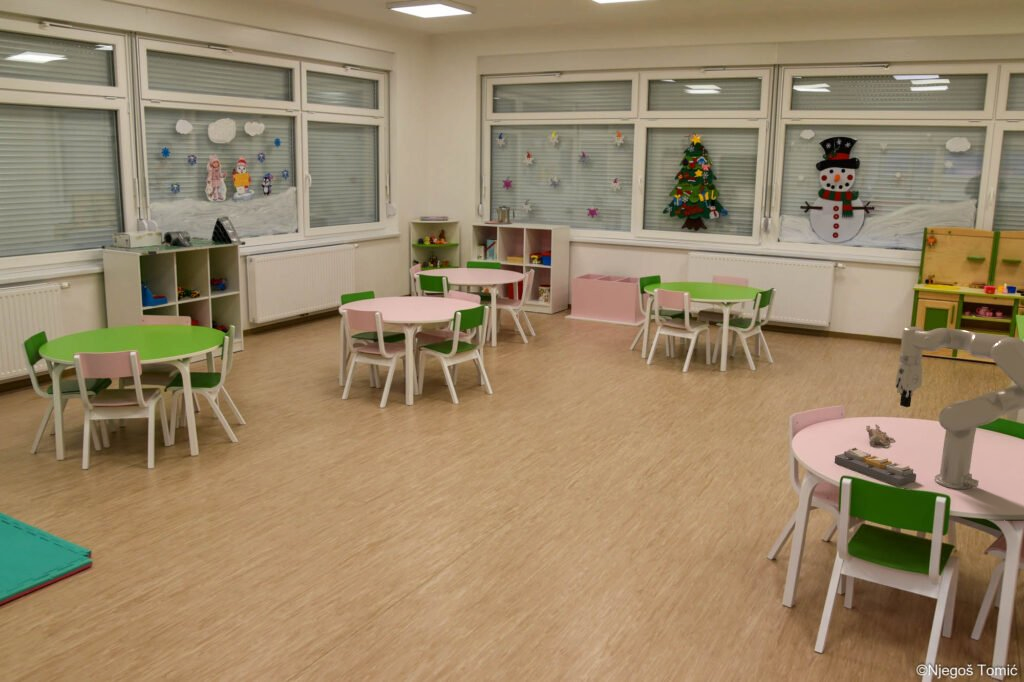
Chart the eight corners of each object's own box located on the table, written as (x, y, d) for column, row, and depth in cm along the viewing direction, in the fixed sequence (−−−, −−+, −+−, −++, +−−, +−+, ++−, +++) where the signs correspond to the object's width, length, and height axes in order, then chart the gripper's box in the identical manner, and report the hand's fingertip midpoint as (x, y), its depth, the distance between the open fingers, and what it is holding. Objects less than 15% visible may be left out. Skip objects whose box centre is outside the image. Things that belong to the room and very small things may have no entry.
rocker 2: (909, 468, 312) (909, 465, 312) (903, 470, 310) (902, 467, 310) (896, 467, 317) (895, 464, 317) (889, 469, 315) (889, 466, 315)
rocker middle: (887, 460, 320) (887, 458, 320) (881, 462, 318) (881, 459, 318) (875, 460, 325) (874, 457, 325) (868, 461, 322) (868, 459, 322)
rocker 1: (866, 456, 328) (867, 454, 327) (859, 458, 326) (860, 456, 325) (854, 449, 332) (855, 447, 331) (848, 451, 330) (849, 448, 329)
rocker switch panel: (915, 481, 312) (916, 470, 311) (898, 487, 307) (900, 475, 306) (850, 458, 335) (851, 447, 334) (834, 462, 330) (835, 452, 329)
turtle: (871, 442, 363) (865, 421, 363) (895, 438, 359) (888, 416, 359) (872, 453, 349) (865, 431, 349) (896, 449, 345) (889, 426, 345)
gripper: (907, 364, 309) (902, 411, 313) (931, 359, 317) (925, 405, 321) (889, 359, 315) (884, 406, 319) (913, 355, 323) (907, 400, 327)
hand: (905, 406), depth 320 cm, fingers closed
